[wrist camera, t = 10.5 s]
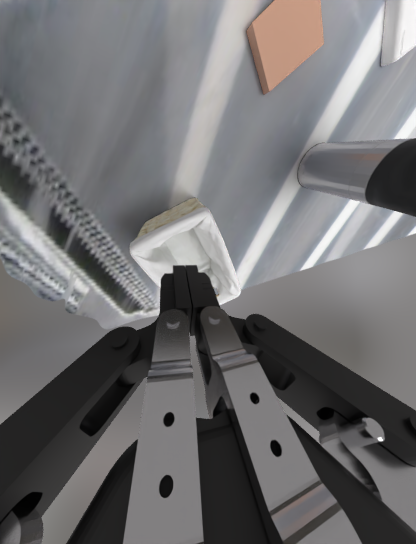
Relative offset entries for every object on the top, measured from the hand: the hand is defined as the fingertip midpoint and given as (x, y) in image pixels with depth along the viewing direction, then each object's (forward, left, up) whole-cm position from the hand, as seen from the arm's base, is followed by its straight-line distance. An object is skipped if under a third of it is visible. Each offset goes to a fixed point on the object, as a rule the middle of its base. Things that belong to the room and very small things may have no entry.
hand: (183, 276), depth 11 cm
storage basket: (-5, +14, -32) cm, 36 cm away
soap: (-39, -30, -32) cm, 59 cm away
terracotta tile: (-15, -20, -31) cm, 40 cm away
